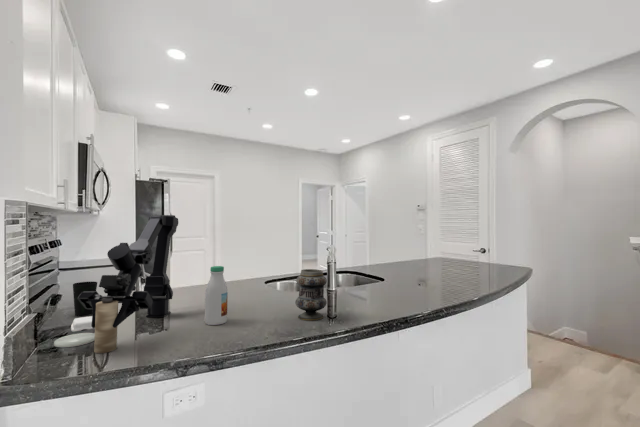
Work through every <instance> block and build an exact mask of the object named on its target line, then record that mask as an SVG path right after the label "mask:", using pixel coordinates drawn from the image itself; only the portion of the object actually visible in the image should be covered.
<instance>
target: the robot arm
mask: <svg viewBox="0 0 640 427" xmlns="http://www.w3.org/2000/svg"><path fill="white" fill-rule="evenodd" d="M178 226H179V218H178V217H176V215H173V214H170V215H169V214H152V215H150V216H149V217H148V221H147V223H146V225H145V227H144V228H143V230H142V232H141V234H140V236H139V238H138V239H137V240H135V241H134V242H132V243H130V244H129V243H128V242H120V243H119V244H118V245H116V246H113V247H112V248H110V249H109V250H108V251H107V254H106V255H107V258H108V259H109V261H110V262H111V265H112V266H113V268H115V270H116V271H118V273H117V274H103V275H101V277H100V280H99V284H98V287H99V288H103V292H104V293H105V294H107V295H101V294H99V293H98V291H97V290H96V291H84V292H82V293H81V294H80V295H79V297H78V300H79V302H80V303H81V304H82V305H83V306H84V308H85V309H93V314H91V316H92V325H91V326H92V328H94V329H95V316H96V303H98V302H101V301H102V298H106V297H113V300H117V301H118V304H121V307H120V309H119V310H118V315H117V317H116V319H115V321H114V324H113V327H114V328H116V327H117V328H118V327H119V325H120V324H122V323H123V321H125V320H127V318H129V317H130V316H131V315H132V314H134V313H136V312H139V311H140V310H143V309H144V310H146V309H147V310H146V311H147V314H146V315H145V317H146V318H164V317H166V316H168V315H169V314H170V313H171V311H169V306H170V304H169V302H170V300H172V299H173V296H174V291H173V289H172V287H171V285H170V278H169V277H168V275H167V268H168V262H169V261H168V260H169V255H170V254H169V253H170V247H171V239H172V237H173V236H174V234H175V233H176V232H177V228H178ZM155 241H156V246H155V250H154V251H155V252H153V250H152V249H153V248H152V247H153V245H154V244H155ZM153 253H154V259H153V266H152V272H151V274H150V275H149V276H146V278H145V284H144V286H143V290H137V287H136V284H137V282H138V280H139V277H143V275H144V273H143V271H142V270H143V269H142V267H141V265H148V264H149V263H150V262H151V261H152V258H153Z"/></svg>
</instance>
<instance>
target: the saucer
mask: <svg viewBox="0 0 640 427" xmlns="http://www.w3.org/2000/svg"><path fill="white" fill-rule="evenodd" d="M94 341H95V332H80V333H79V332H78V333H73V334H69V335H65V336H62V337H60V338H57V339H55V340H54V342H53V345H54V347H56V348H61V349H62V348H74V347H79V346H83V345H87V344H90V343H92V342H94Z"/></svg>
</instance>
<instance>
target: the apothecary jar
mask: <svg viewBox="0 0 640 427" xmlns="http://www.w3.org/2000/svg"><path fill="white" fill-rule="evenodd" d="M295 281H296V284H297V285H299V288H298V296H297V298H296V299H295V306H296V307H297V308H298V309H300V310H301V311H304V312H302V313H299V314H298V316H297V317H298V319H299V318H300V320H301V319H302V320H301V321H307V322H308V321H309V322H313V321H319V320H323V319H324V314H322V313H320V312H318V311H320V310H322V309H324V308H326V306H327V298H325V297H324V296H325V295H324V290H325V287H324V286H325V285H326V284H327V282H328V279H327V277H326V276H325V275H324V273H323V270H322V269H317V268H304V269H301V270H300V274H299V276H297V277H296V280H295Z"/></svg>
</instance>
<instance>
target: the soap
mask: <svg viewBox="0 0 640 427" xmlns="http://www.w3.org/2000/svg"><path fill="white" fill-rule="evenodd" d="M91 325H92V315H88V316H80V317H75V318H74V319H73V321H72V323H71V325H70V330H71V333H72V332H80V331H82V330H93V329H94V330H95V328H92V326H91Z"/></svg>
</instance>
